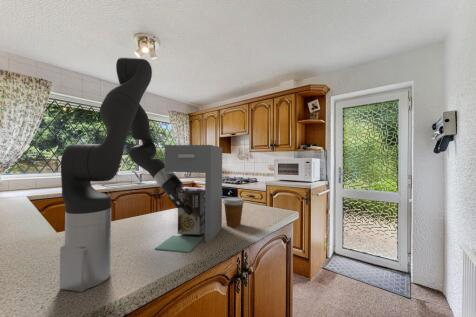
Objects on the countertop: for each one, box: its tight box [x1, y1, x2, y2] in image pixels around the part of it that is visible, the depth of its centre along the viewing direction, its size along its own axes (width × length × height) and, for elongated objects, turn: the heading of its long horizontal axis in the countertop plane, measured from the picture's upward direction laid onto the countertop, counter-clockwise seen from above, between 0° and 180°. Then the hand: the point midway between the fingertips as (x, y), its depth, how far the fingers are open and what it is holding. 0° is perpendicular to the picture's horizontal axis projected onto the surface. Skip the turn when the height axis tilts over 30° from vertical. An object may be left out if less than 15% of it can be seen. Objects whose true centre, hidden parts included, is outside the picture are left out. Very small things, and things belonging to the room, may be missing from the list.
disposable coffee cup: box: [222, 196, 245, 228], centre depth 96 cm, size 10×10×12 cm
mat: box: [154, 235, 203, 253], centre depth 74 cm, size 12×12×1 cm
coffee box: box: [177, 190, 205, 235], centre depth 84 cm, size 9×6×16 cm
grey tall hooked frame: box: [164, 144, 223, 244], centre depth 84 cm, size 17×18×35 cm
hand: (195, 211), depth 84 cm, fingers closed on coffee box, 6 cm apart
